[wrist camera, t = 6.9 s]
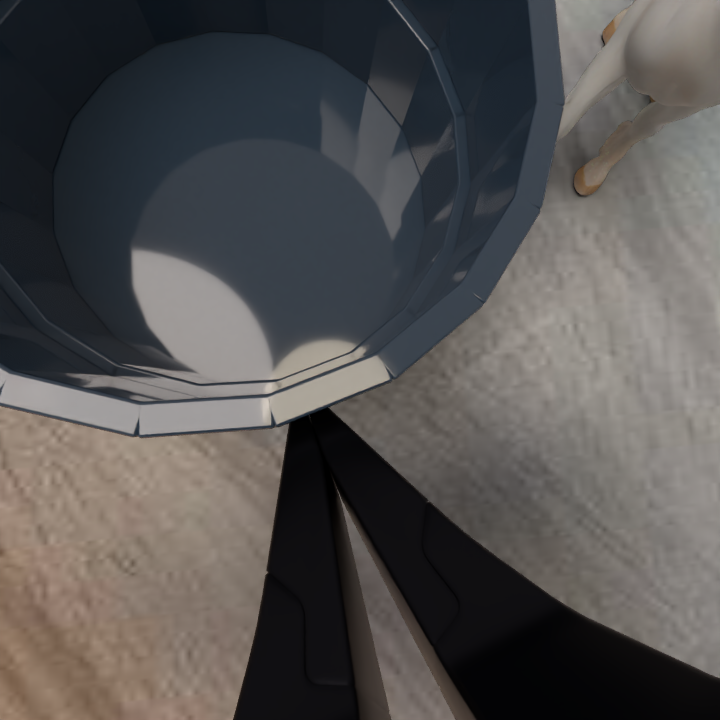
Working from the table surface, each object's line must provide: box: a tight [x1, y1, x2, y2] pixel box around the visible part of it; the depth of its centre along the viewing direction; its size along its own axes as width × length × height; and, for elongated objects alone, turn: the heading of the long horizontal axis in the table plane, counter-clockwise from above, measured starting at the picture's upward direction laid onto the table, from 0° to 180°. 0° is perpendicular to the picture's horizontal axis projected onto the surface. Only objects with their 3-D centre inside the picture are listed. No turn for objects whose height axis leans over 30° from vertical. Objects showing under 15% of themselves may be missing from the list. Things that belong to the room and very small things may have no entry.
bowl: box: [0, 0, 565, 438], centre depth 13 cm, size 16×16×8 cm
